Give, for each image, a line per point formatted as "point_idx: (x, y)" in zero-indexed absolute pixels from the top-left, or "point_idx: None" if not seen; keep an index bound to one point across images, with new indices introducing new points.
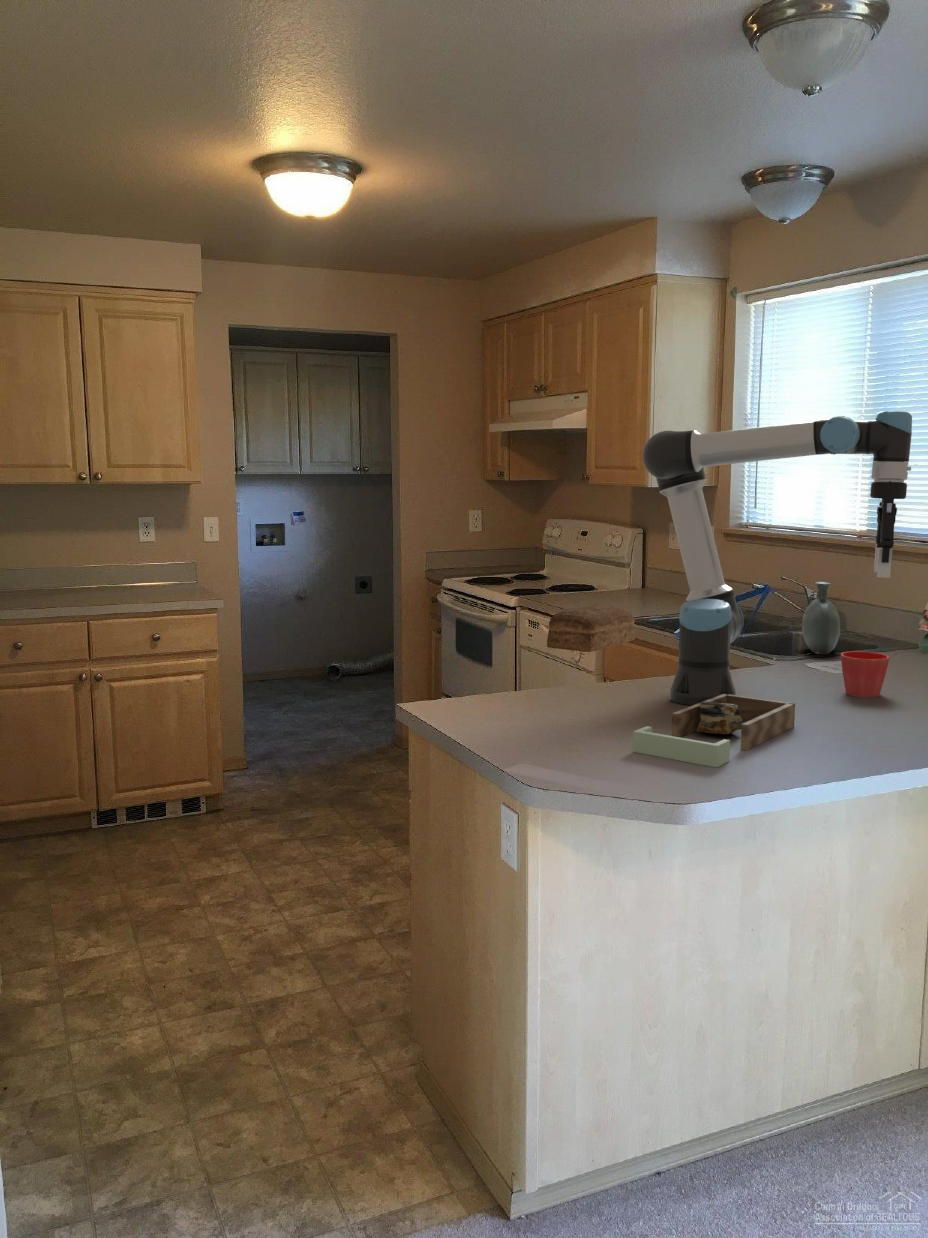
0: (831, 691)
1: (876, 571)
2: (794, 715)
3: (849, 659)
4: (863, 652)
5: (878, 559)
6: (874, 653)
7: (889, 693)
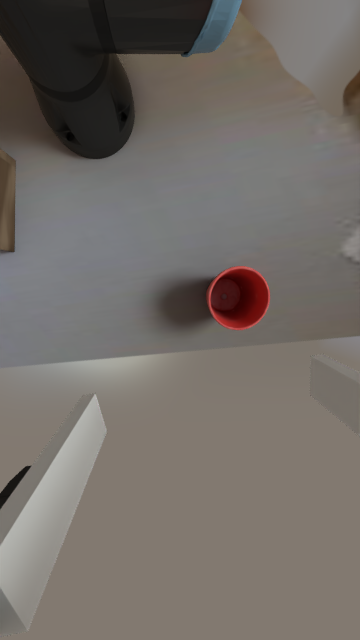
0: (224, 261)
1: (312, 365)
2: (2, 249)
3: (212, 282)
4: (267, 294)
5: (33, 463)
6: (265, 308)
7: None
